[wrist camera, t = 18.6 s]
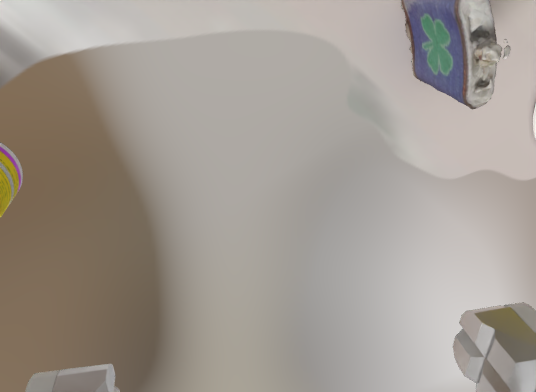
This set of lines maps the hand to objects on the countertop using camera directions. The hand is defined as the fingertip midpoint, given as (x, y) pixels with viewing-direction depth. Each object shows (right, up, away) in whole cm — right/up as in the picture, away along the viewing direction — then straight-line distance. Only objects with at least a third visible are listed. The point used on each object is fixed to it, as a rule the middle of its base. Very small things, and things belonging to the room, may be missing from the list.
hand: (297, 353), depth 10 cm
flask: (+13, +18, +29) cm, 37 cm away
